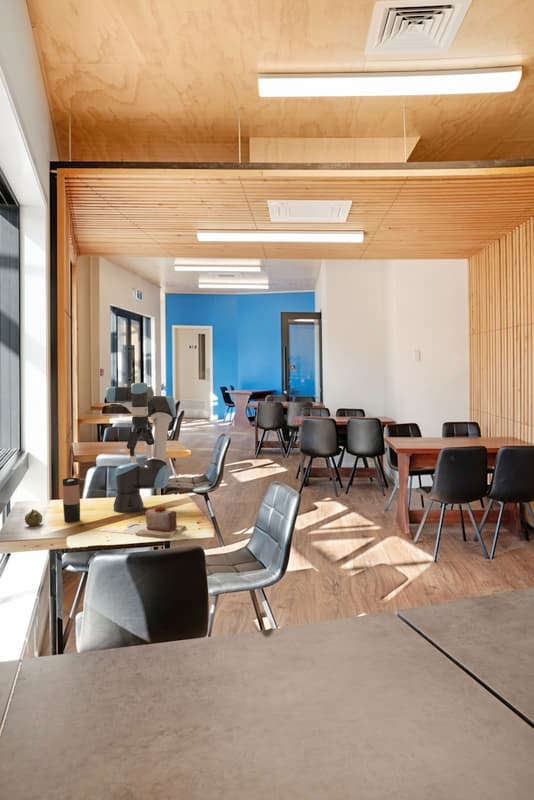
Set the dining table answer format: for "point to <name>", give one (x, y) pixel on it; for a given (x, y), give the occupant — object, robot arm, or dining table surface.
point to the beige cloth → (160, 532)
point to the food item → (161, 519)
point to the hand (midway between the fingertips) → (141, 460)
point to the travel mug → (71, 500)
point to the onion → (33, 518)
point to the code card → (128, 528)
